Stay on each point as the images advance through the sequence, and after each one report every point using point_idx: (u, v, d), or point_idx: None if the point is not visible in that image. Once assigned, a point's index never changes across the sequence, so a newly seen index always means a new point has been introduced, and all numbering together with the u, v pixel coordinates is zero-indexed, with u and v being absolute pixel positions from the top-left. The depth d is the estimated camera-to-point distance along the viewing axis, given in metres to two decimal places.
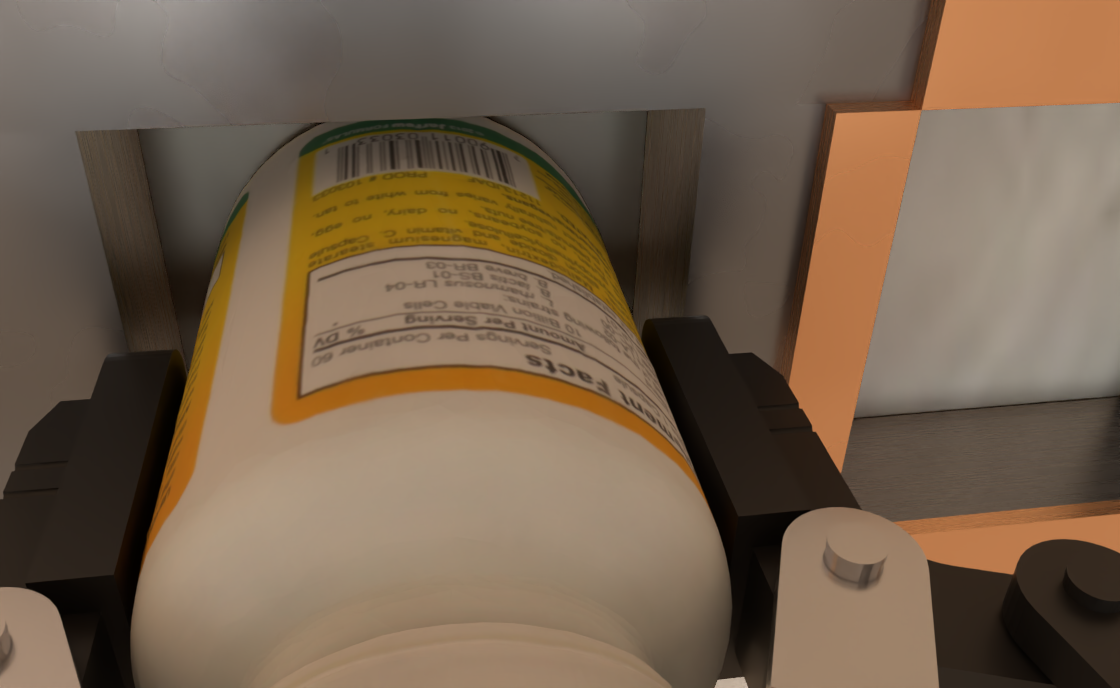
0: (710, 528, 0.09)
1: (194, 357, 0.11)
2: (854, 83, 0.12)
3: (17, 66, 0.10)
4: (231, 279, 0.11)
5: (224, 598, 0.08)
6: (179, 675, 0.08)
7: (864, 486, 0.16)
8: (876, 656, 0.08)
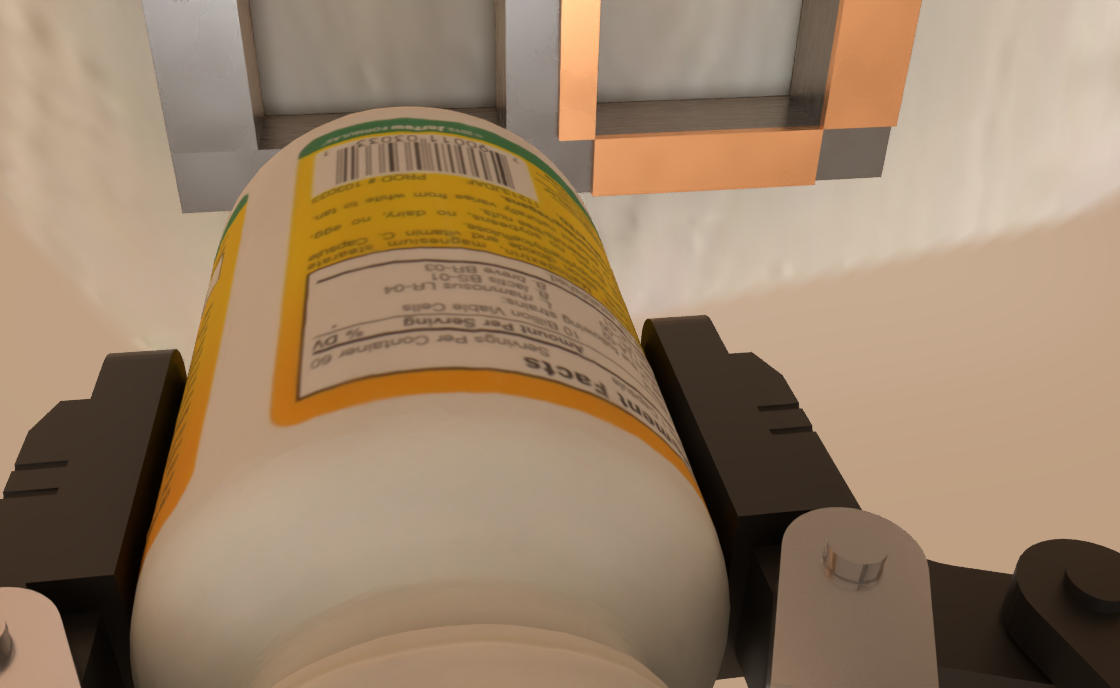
0: (708, 530, 0.09)
1: (194, 359, 0.11)
2: None
3: None
4: (231, 281, 0.11)
5: (224, 601, 0.08)
6: (177, 677, 0.08)
7: (625, 123, 0.30)
8: (876, 656, 0.08)
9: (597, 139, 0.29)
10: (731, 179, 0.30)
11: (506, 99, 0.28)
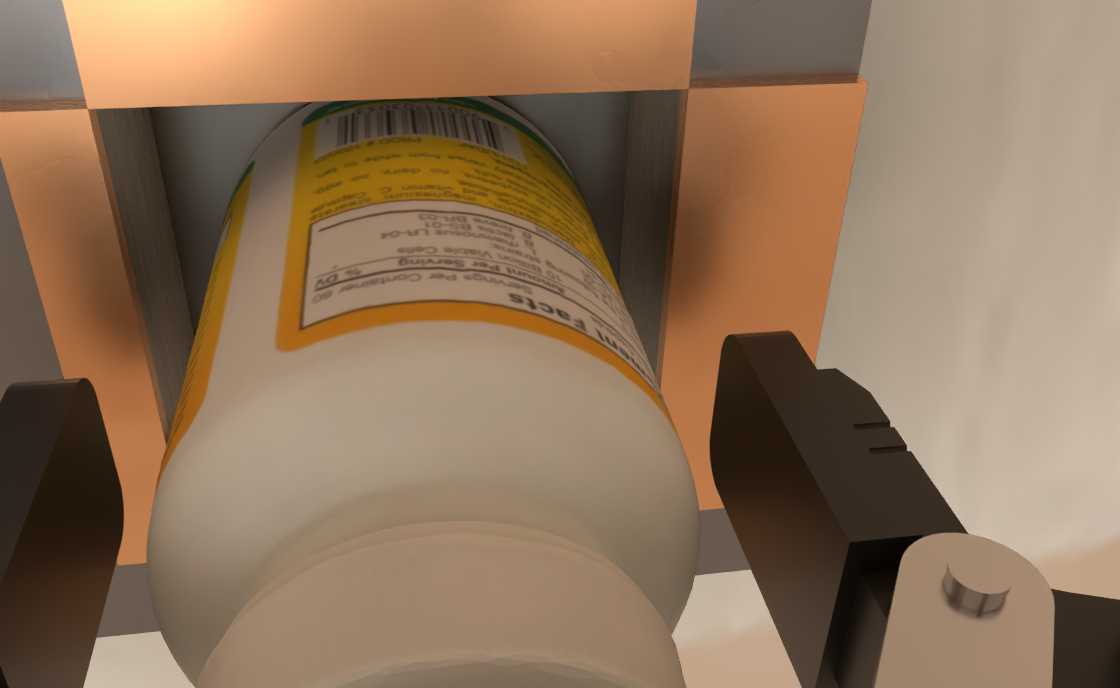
0: (678, 453, 0.10)
1: (204, 307, 0.12)
2: (19, 81, 0.11)
3: None
4: (238, 236, 0.12)
5: (234, 506, 0.09)
6: (191, 580, 0.09)
7: None
8: (986, 686, 0.08)
9: None
10: None
11: None
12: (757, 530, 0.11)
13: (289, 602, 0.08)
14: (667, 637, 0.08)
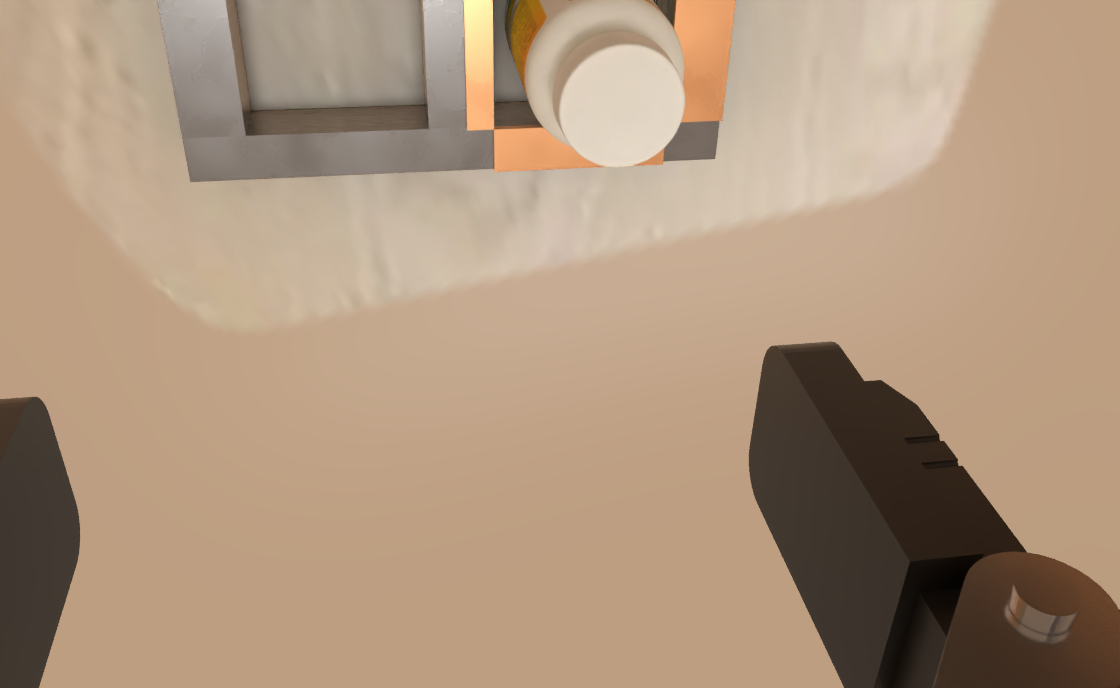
0: (678, 38, 0.34)
1: (523, 12, 0.36)
2: None
3: None
4: None
5: (562, 36, 0.33)
6: (547, 60, 0.33)
7: (519, 117, 0.40)
8: None
9: (496, 129, 0.39)
10: None
11: (427, 99, 0.38)
12: (803, 545, 0.11)
13: (585, 45, 0.32)
14: None
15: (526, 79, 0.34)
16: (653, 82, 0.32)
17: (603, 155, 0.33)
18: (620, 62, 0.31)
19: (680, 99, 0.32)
